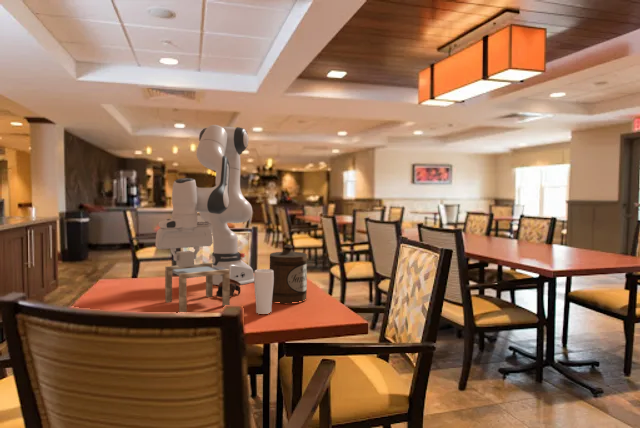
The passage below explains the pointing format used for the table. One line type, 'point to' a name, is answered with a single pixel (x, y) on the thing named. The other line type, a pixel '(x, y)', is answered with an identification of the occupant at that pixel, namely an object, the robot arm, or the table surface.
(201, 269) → the trapdoor
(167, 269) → the frame
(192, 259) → the block
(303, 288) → the wooden container
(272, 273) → the tall white cup
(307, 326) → the table surface
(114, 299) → the table surface
